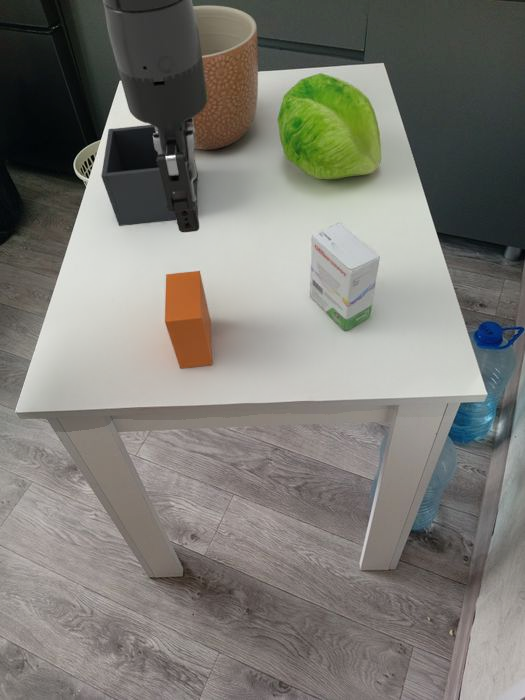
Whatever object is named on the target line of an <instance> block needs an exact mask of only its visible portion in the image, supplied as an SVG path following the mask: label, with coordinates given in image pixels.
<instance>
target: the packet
mask: <svg viewBox="0 0 525 700" xmlns="http://www.w3.org/2000/svg"><path fill="white" fill-rule="evenodd" d="M164 302H165V303H164V324H165V327H166V330H167V333H168V336H169V338H170V342H171V345H172V348H173V352H174V354H175V358H176V360H177V364H178V366H179V369H188V368H198V367H207V366H213V346H212V323H211V316H210V311H209V307H208V301H207V298H206V293H205V288H204V283H203V279H202V274H201V271H200V270H194V271H185V272H177V273H176V272H175V273H166V274H165V301H164Z"/></svg>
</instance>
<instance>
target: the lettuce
mask: <svg viewBox="0 0 525 700" xmlns="http://www.w3.org/2000/svg"><path fill="white" fill-rule="evenodd" d="M277 126H278V133H279V140H280V142H281V146H282V149H283V153H284V156H285V158H286V159H287V160H288V161H289V162H291V163H292V164H293V165H295V166H296V167H297V168H298V169H300V170H301V171H302V172H303V173H305V174H307V175H309V176H311V177H312V178H315V179H317V180H318V179H320V180H338V179H344V178H348V177H357V176H364V175H365V176H366V175H370V174H373V173H374V172H376V170H377V169H378V168H379V166H380V164H381V162H382V144H381V134H380V128H379V123H378V119H377V116H376V112H375V109H374V107H373V105H372V103H371V101H370V99H369V98H368V97H367V96H366V95H365V93H363V92H362V91H361V89H360V88H358V87H356V86H354V85H353V84H351V83H349V82H347V81H345V80H342V79H341V78H338V77H334V76H332V75H331V76H330V75H328V74H325V73H323V72H322V73H321V72H320V73H317V74H313V75H310V76H307V77H305V78H301V79H300V80H299V81H297V83H296V84H295V85H293V86H292V87H291V88H290V89H289V90H288V91H287V92H286V93H284V95H283V97H282V101H281V105H280V108H279V112H278V117H277Z"/></svg>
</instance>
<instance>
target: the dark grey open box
mask: <svg viewBox="0 0 525 700" xmlns="http://www.w3.org/2000/svg"><path fill="white" fill-rule="evenodd" d="M153 133H156V131H155V127H154V126H153V125H151V124H147V125H146V124H145V125H136V126H126V127H117V128H108V131H107V136H106V137H107V138H106V143H105V150H104V157H103V163H102V170H101V175H100V176H101V179H102V183H103V185H104V188H105V190H106V193H107V196H108V199H109V202H110V205H111V207H112V210H113V213H114V217H115V219H116V221H117V224H118V226H127V225H139V224H148V223H155V222H156V223H157V222H166V221H177V220H176V215H175V212H169V209H168V208H167V200H166V196H165V191H164V187H163V183H162V178H161V174H160V170H159V166H158V165H157V161H156V159H157V154H158V152H157V151H156V150H155V148H154V141H153ZM193 188H194V195H196V200H195V204H196V210H197V215H198V214H199V211H198V209H199V207H198V206H199V205H198V181H197V182H196V183H193ZM182 192H184V191H177V192H175V193H182ZM198 216H199V215H198Z"/></svg>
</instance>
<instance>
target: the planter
mask: <svg viewBox="0 0 525 700" xmlns="http://www.w3.org/2000/svg"><path fill="white" fill-rule="evenodd" d="M193 8H194V11H195V15H196V19H197V25H198V32H199V39H200V46H201V53H202V60H203V67H204V75H205V82H206V89H207V96H208V98H207V103H206V105H205V107H204V109H203V110H202V111H201V112H200V113H199V114H198V115H196V116H195V117H193V118H194V124H195V138H196V143H195V144H196V146H195V149H196V150H204V151H205V150H207V151H209V150H215V149H216V150H217V149H221V148H224V147H227V146H230V145H232V144H233V143H235V142H236V141H238V140H240V138H242V137H243V136H244V135H245V134H246V133H247V132H248V130H249V129H250V128H251V126H252V125H253V122H254V121H255V117H256V113H257V104H258V95H259V94H258V93H259V91H258V90H259V51H258V50H259V48H258V28H257V27H258V26H257V23H256V20H255V19H254V18H253V16H251V15H250V14H249V13H248V12H247V13H246V12H245V11H242V10H240V9H238V8H235V7H229V6H223V5H193ZM195 149H194V150H195Z"/></svg>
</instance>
